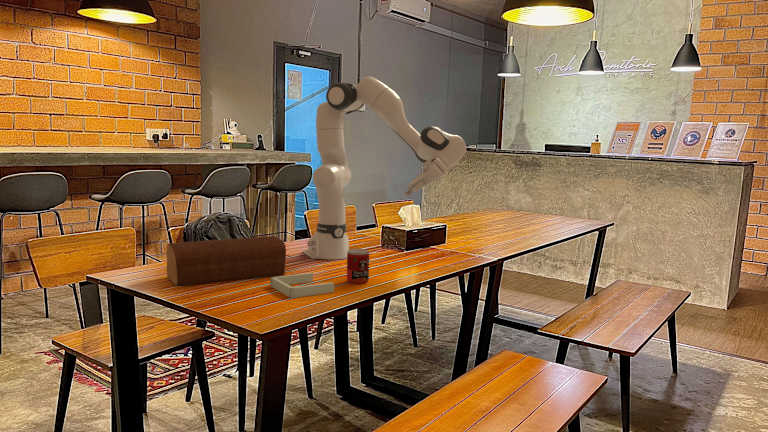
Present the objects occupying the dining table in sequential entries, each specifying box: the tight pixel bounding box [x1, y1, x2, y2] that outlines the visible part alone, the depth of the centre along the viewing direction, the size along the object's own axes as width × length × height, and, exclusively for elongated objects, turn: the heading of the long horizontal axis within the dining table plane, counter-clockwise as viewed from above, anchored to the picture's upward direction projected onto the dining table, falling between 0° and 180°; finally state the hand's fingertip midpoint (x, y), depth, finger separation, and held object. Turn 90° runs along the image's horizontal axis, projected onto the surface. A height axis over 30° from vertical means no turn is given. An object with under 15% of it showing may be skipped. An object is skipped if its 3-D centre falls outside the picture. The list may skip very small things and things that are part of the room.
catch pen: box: [269, 272, 335, 299], centre depth 194 cm, size 16×15×3 cm
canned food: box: [346, 248, 370, 285], centre depth 206 cm, size 8×8×11 cm
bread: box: [166, 235, 287, 287], centre depth 208 cm, size 16×39×13 cm, turn 121°
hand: (409, 193), depth 218 cm, fingers open, 8 cm apart
